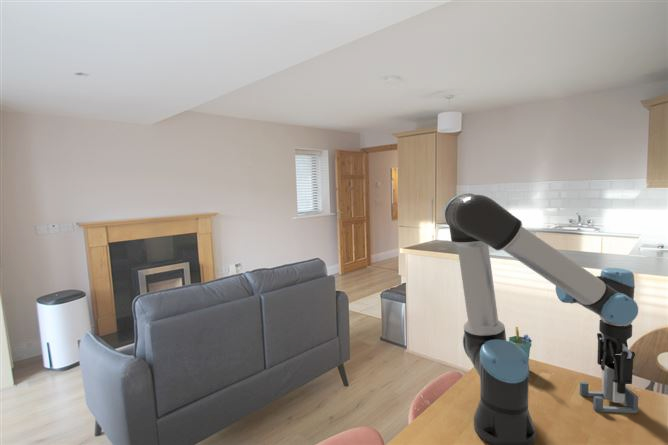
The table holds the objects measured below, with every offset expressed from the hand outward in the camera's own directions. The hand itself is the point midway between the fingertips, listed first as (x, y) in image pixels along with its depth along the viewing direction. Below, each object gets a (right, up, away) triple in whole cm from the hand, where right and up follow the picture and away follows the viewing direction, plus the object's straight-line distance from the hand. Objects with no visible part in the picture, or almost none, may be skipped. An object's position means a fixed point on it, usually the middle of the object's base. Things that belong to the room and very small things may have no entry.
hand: (612, 396), depth 106 cm
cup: (-17, -1, +21) cm, 27 cm away
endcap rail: (-1, -2, 0) cm, 3 cm away
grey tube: (0, -1, 0) cm, 1 cm away
